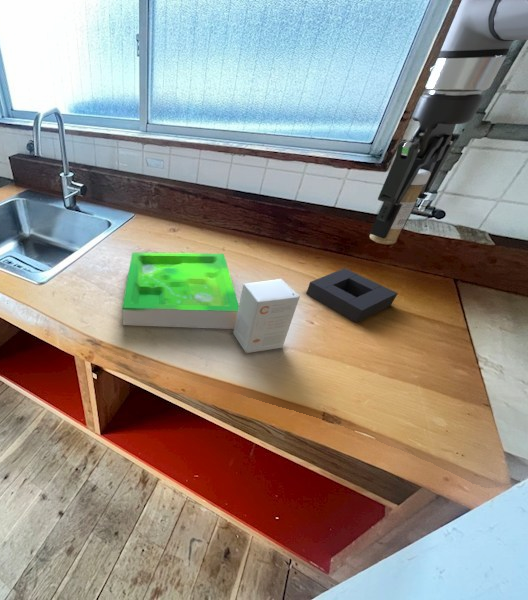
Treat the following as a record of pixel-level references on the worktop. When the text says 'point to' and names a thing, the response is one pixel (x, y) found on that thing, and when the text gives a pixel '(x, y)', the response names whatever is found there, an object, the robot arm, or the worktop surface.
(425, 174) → the sprinkles bottle
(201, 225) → the worktop surface
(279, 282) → the small box
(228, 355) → the worktop surface
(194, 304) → the green board game box
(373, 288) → the dark grey square frame
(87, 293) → the worktop surface
